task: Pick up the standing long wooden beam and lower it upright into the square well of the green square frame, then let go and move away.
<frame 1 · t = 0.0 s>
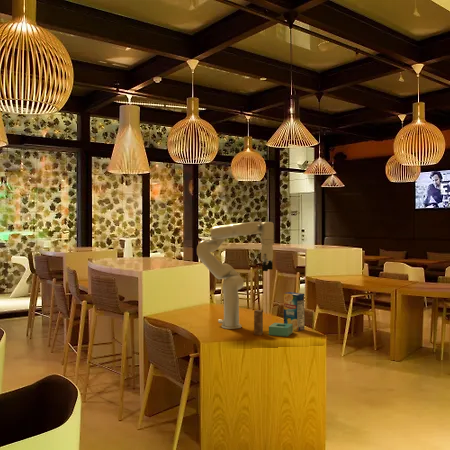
hand: (267, 270, 317), 37 cm above the table, tool pointing down, fingers open, 9 cm apart
long wooden beam: (258, 334, 307), on the table
beverage box: (294, 329, 321), on the table
green square frame: (280, 333, 308), on the table
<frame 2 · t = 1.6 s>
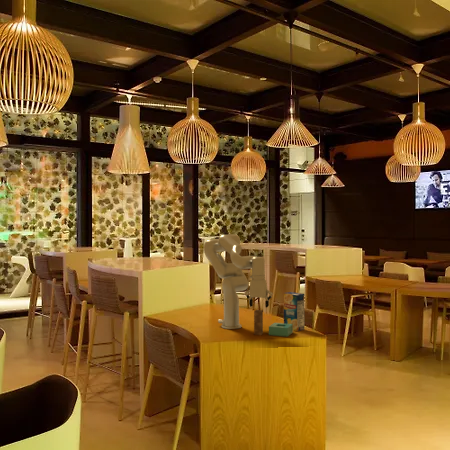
hand: (259, 306, 306), 16 cm above the table, tool pointing down, fingers open, 9 cm apart
nothing on the table moved.
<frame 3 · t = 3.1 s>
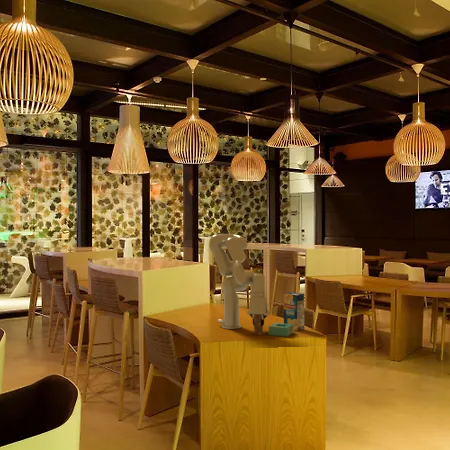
hand: (258, 325, 307), 5 cm above the table, tool pointing down, fingers closed on long wooden beam, 4 cm apart
long wooden beam: (258, 334, 307), on the table, touching gripper
everything else where it was.
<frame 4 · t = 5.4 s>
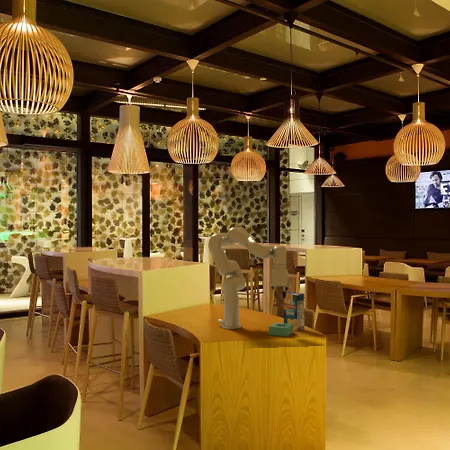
hand: (280, 297, 308), 22 cm above the table, tool pointing down, fingers closed on long wooden beam, 4 cm apart
long wooden beam: (280, 306, 308), point 16 cm above the table, touching gripper
everything else where it was.
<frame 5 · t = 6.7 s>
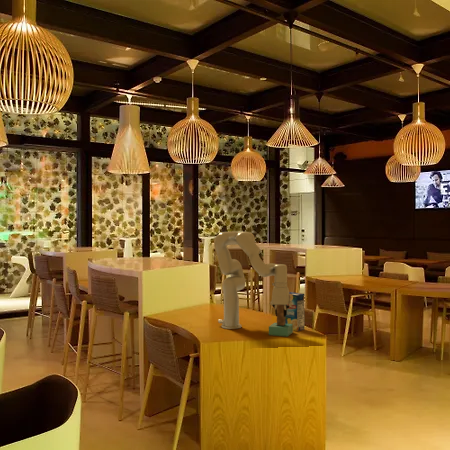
hand: (281, 315, 308), 11 cm above the table, tool pointing down, fingers closed on long wooden beam, 4 cm apart
long wooden beam: (281, 324, 308), point 5 cm above the table, touching gripper
everything else where it was.
when the fingers open (7 cm above the table, at t = 7.9 s): long wooden beam stays where it is, resting on green square frame.
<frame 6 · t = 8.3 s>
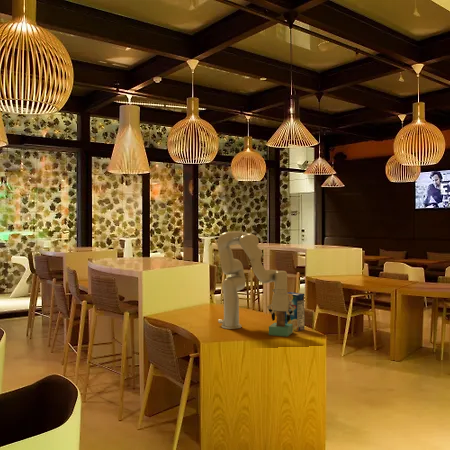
hand: (280, 320, 308), 8 cm above the table, tool pointing down, fingers open, 8 cm apart
long wooden beam: (280, 332, 308), point 1 cm above the table, touching green square frame
everything else where it was.
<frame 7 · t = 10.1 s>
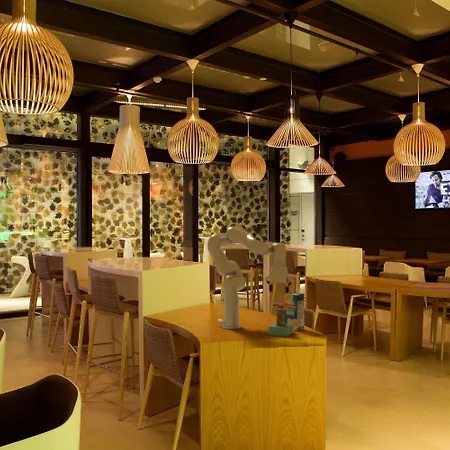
hand: (278, 292, 308), 24 cm above the table, tool pointing down, fingers open, 9 cm apart
nothing on the table moved.
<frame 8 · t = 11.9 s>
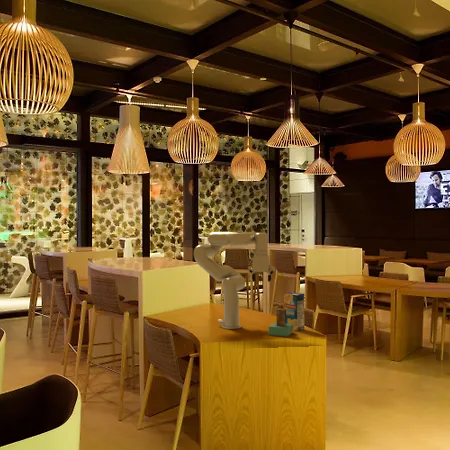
hand: (261, 281, 315), 30 cm above the table, tool pointing down, fingers open, 9 cm apart
nothing on the table moved.
at the end: long wooden beam 0.1 cm off-centre on the green square frame, point 0.6 cm above the green square frame's base; long wooden beam tilted 0°; the gripper is holding nothing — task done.
